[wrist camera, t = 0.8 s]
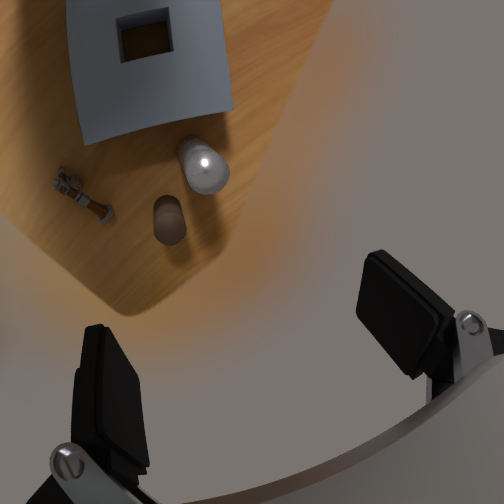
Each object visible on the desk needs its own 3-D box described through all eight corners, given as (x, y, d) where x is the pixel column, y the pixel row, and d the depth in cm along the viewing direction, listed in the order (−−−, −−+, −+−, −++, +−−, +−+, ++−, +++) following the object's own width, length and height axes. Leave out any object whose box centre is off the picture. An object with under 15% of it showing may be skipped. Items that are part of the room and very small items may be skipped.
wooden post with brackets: (59, 157, 24) (58, 178, 22) (107, 192, 31) (113, 215, 28) (49, 169, 24) (48, 192, 22) (98, 202, 31) (103, 225, 29)
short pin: (150, 199, 31) (150, 219, 26) (177, 192, 31) (182, 211, 26) (157, 224, 32) (158, 248, 28) (183, 217, 33) (189, 240, 28)
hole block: (77, -4, 16) (65, -19, 12) (204, -31, 18) (213, -50, 14) (95, 139, 25) (84, 146, 21) (222, 108, 28) (233, 110, 24)
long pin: (174, 139, 28) (183, 158, 19) (203, 133, 29) (226, 149, 20) (179, 167, 30) (191, 198, 21) (207, 160, 31) (232, 189, 22)
